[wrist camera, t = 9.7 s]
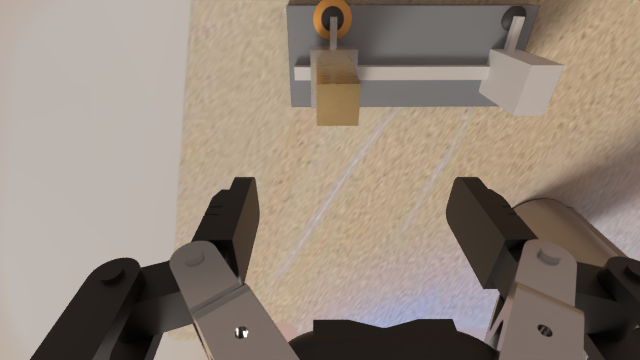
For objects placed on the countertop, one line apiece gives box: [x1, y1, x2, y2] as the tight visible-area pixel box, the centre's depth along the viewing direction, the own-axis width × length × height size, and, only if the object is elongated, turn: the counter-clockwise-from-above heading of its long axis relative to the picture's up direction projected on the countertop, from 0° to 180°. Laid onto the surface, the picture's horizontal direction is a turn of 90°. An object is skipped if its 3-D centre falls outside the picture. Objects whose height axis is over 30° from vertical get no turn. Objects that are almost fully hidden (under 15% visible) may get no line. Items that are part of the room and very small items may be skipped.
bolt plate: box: [286, 0, 565, 116], centre depth 27 cm, size 22×10×8 cm, turn 90°
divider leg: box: [310, 16, 361, 126], centre depth 25 cm, size 4×7×9 cm, turn 0°
